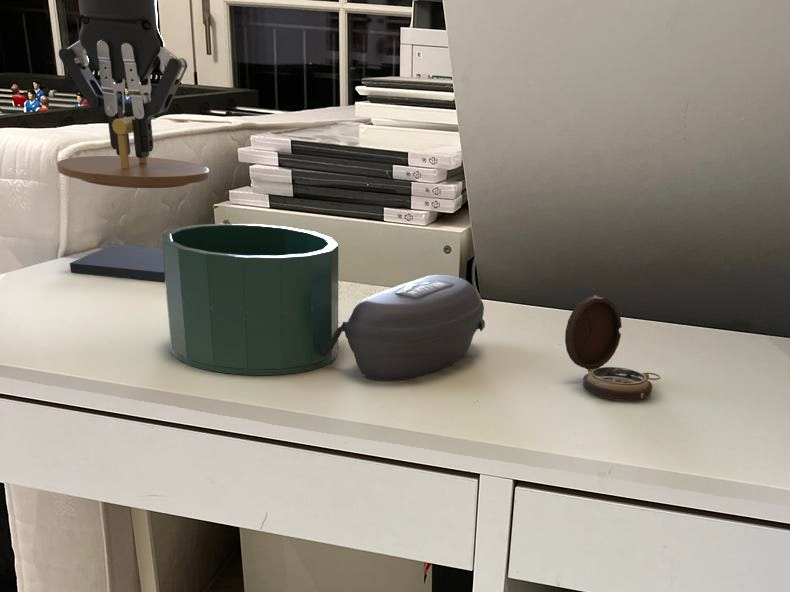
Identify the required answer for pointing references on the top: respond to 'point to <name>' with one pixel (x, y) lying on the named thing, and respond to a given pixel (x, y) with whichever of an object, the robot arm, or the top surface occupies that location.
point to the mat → (123, 263)
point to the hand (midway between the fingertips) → (133, 155)
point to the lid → (132, 167)
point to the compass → (602, 351)
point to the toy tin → (251, 297)
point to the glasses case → (413, 327)
